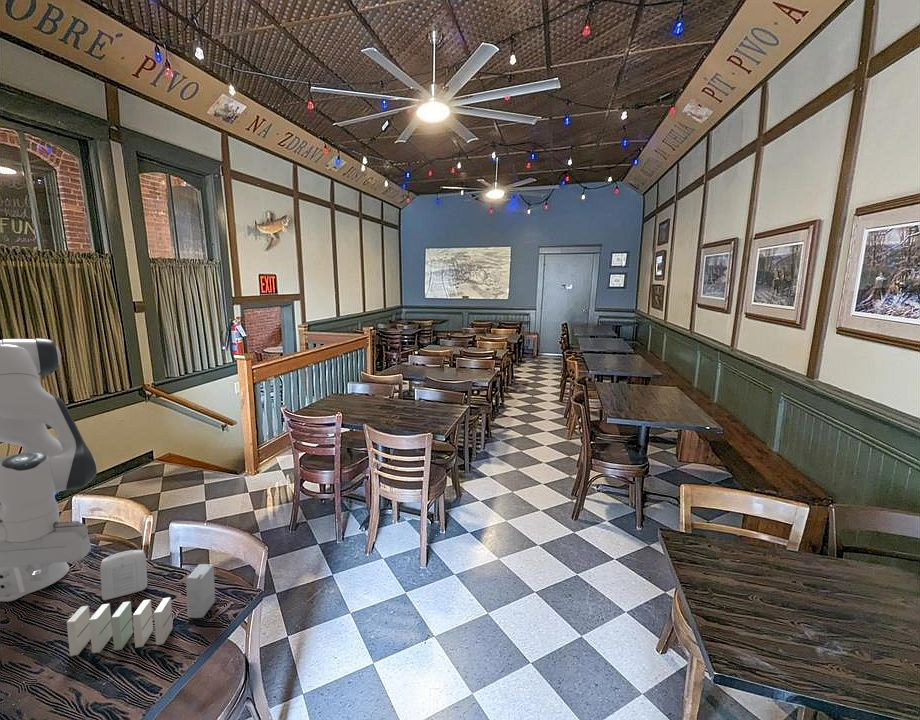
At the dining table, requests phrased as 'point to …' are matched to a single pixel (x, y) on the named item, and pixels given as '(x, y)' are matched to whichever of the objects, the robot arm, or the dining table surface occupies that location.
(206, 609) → the skincare box
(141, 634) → the domino
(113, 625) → the pale green domino
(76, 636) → the domino
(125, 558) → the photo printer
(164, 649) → the dining table surface
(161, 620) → the domino
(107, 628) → the domino
